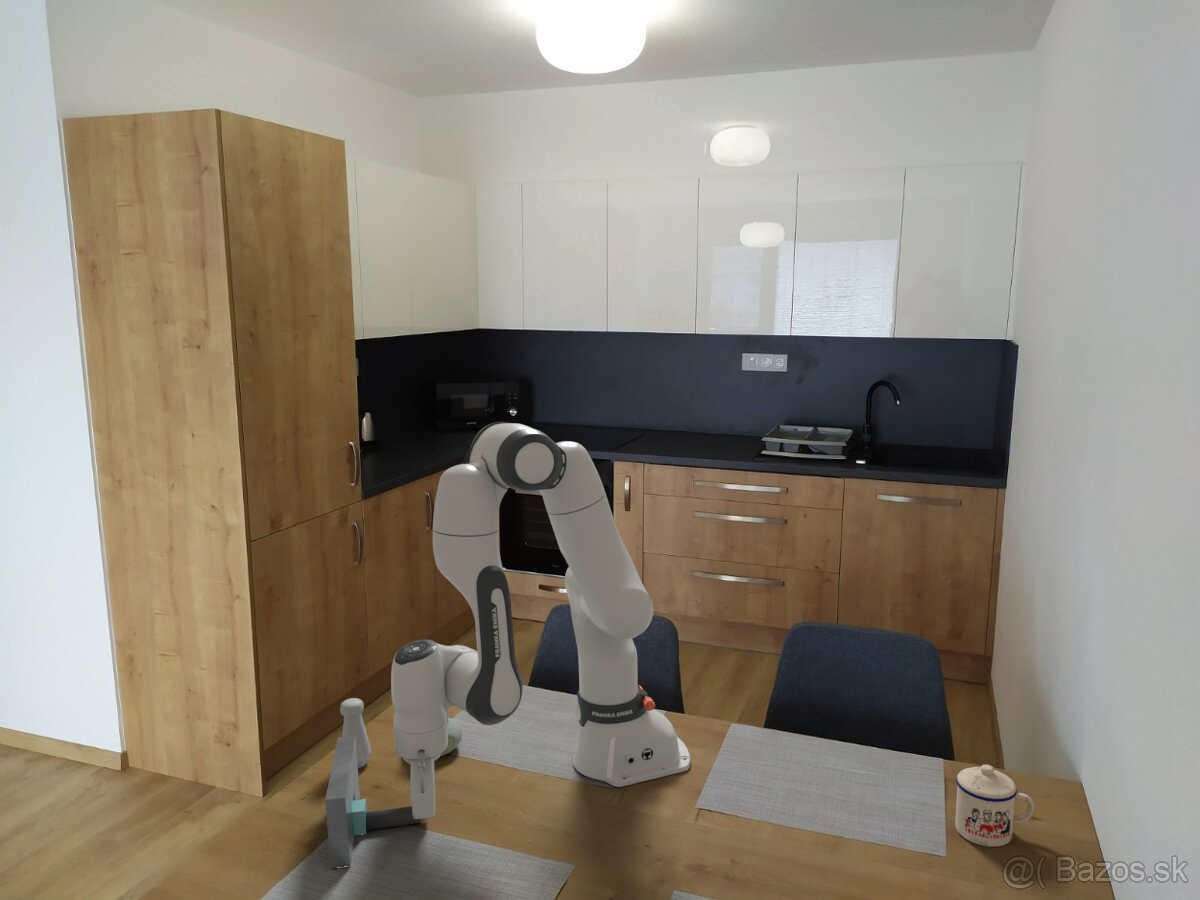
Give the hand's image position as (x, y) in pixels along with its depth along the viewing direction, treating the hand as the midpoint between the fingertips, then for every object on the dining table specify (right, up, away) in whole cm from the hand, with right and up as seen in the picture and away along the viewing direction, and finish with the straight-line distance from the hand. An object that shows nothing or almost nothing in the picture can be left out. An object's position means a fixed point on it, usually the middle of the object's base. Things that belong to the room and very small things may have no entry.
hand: (425, 811), depth 150 cm
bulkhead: (-13, -2, -2) cm, 13 cm away
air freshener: (-3, +2, +24) cm, 24 cm away
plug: (-7, -2, -1) cm, 8 cm away
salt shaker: (-17, +1, +19) cm, 26 cm away
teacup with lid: (+95, -1, -6) cm, 95 cm away
